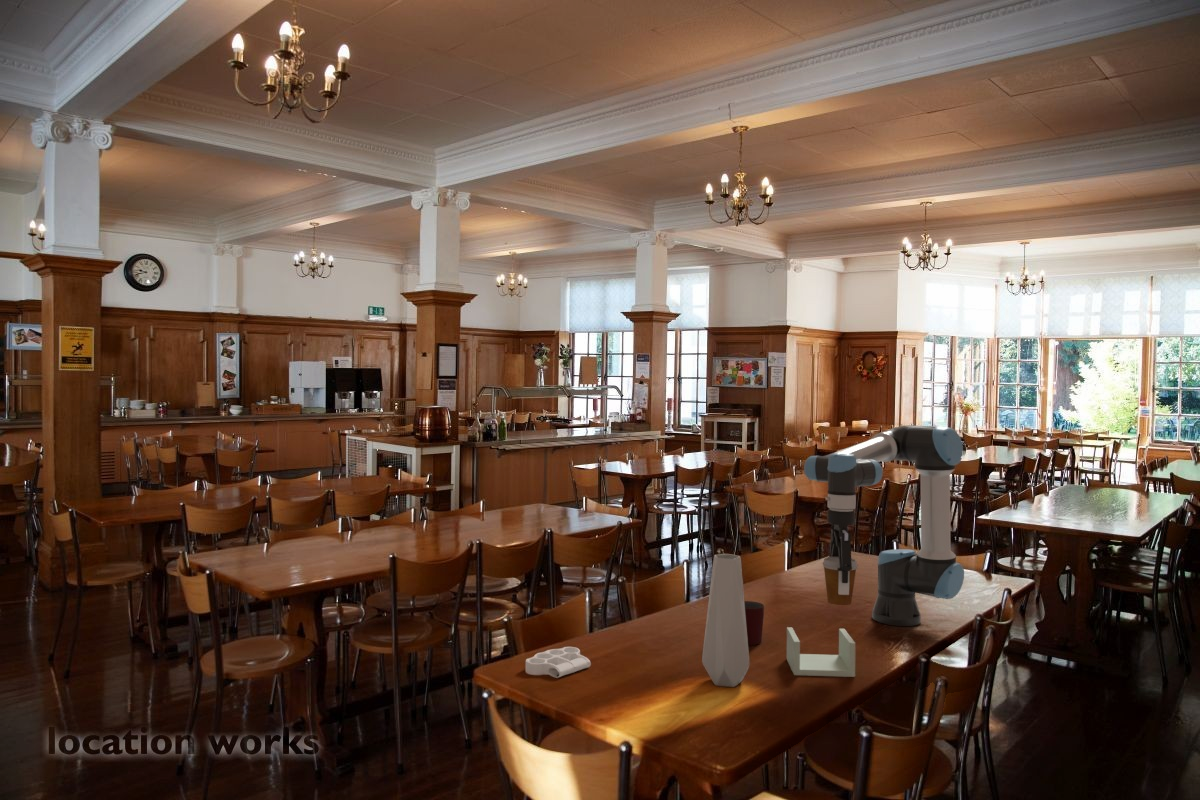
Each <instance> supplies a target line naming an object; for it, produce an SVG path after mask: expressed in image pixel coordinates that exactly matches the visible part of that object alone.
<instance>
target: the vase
mask: <svg viewBox="0 0 1200 800" xmlns="http://www.w3.org/2000/svg"><path fill="white" fill-rule="evenodd" d="M711 568H712V570H711V578H710V588H709V594H708V595H709V596H708V603H707V612H706V619H705V621H706V622H705V630H704V631H705V632H704V638H703V647H702V656H701V657H702V659H701V663H702V665H703V667H704V668H705V671H706V672H707V674H708V676H709V677H710V679H711V681H712V683H713V684H714V685H715V686H718V687H728V688H729V687H730V688H735V687H737V686H738V685H739V684H741V683H742V681H743V680H744V678H745V676H746V674H747V672H748V669H749V668H750V653H749V645H748V639H747V627H746V615H745V603H744V601H745V594H744V579H743V571H742V558H741V556H740V555H736V554H732V553H731V554H730V553H720V554H714V555H713V561H712V567H711Z"/></svg>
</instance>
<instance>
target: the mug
mask: <svg viewBox="0 0 1200 800" xmlns="http://www.w3.org/2000/svg"><path fill="white" fill-rule="evenodd" d="M744 603H745V615H746V627H747V639H748V646H755V645H760V644H761V643H762V637H763V629H764V627H763V626H764V618H765V617H764V616H765V615H764V614H765V605H764V604H763V603H761V602H757V601H750V600H744Z"/></svg>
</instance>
